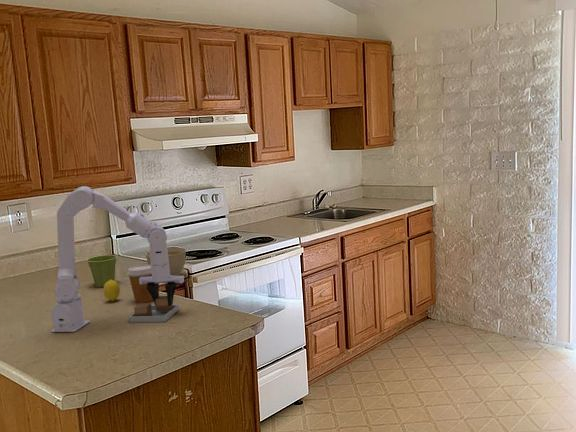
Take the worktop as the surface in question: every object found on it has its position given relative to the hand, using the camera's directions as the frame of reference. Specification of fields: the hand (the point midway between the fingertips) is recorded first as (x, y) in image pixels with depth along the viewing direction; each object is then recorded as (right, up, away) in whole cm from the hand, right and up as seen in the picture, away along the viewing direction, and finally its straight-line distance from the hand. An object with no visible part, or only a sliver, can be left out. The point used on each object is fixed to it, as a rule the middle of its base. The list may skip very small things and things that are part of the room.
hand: (164, 304), depth 185 cm
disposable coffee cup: (-11, -1, +18) cm, 21 cm away
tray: (-3, -3, -2) cm, 5 cm away
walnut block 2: (0, -2, 0) cm, 2 cm away
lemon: (-23, -2, +20) cm, 30 cm away
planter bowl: (-9, +3, +51) cm, 52 cm away
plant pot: (-34, +1, +45) cm, 56 cm away
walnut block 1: (-6, -3, -4) cm, 7 cm away
